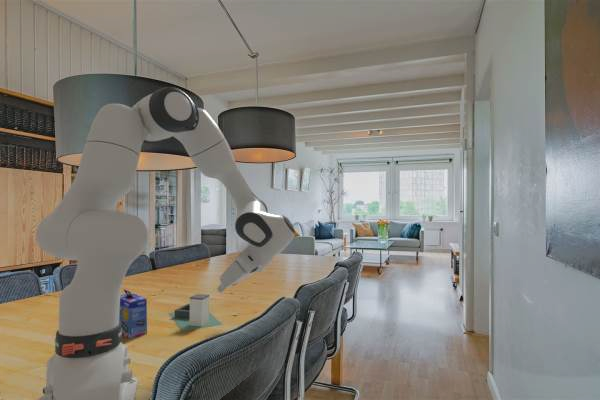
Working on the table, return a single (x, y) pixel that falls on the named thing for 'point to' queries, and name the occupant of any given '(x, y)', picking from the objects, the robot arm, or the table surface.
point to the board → (183, 316)
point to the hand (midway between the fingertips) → (226, 287)
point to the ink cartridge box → (133, 315)
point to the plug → (199, 310)
